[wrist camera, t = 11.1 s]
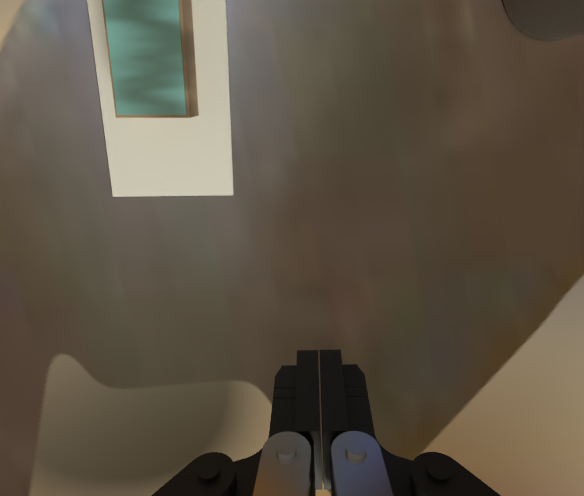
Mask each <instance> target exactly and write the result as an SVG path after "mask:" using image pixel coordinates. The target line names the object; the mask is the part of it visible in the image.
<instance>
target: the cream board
mask: <svg viewBox="0 0 584 496" xmlns="http://www.w3.org/2000/svg"><path fill="white" fill-rule="evenodd" d="M87 2H88V10H89V18H90V25H91V33H92V40H93V48H94V56H95V63H96V71H97V79H98V86H99V94H100V102H101V109H102V117H103V124H104V132H105V140H106V147H107V155H108V163H109V170H110V178H111V186H112V193H113V197H123V196H200V195H233V194H234V191H233V166H232V141H231V116H230V91H229V66H228V41H227V16H226V0H192V16H193V32H194V48H195V64H196V80H197V97H198V113H199V116H195V117H191V118H116V115H115V107H114V99H113V91H112V82H111V74H110V66H109V58H108V49H107V41H106V33H105V25H104V16H103V8H102V0H87Z"/></svg>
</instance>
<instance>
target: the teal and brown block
mask: <svg viewBox="0 0 584 496" xmlns="http://www.w3.org/2000/svg"><path fill="white" fill-rule="evenodd" d="M102 8H103V16H104V25H105V33H106V41H107V49H108V58H109V66H110V74H111V82H112V91H113V99H114V107H115V115H116V118H191V117H195V116H199V113H198V97H197V80H196V64H195V48H194V32H193V16H192V0H102Z"/></svg>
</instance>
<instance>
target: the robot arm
mask: <svg viewBox="0 0 584 496" xmlns="http://www.w3.org/2000/svg"><path fill="white" fill-rule="evenodd" d="M503 3H504V6H505V9H506V12H507V14H508V16H509V18H510V19H511V21H512V23H513V24H514V25H515V26H516V27H517V28H518V29H519V30H520V31H521V32H522V33H524V34H526V35H527V36H529V37H531V38H535V39H538V40H558V39H563V38H568V37H573V36H578V35H583V34H584V0H503ZM320 377H321V409H322V437H323V465H324V489H331V496H500V495H499V494H498V493H497V492H495V491H494V490H493V489H491V488H490V487H488V486H487V485H486V484H485V483H484V482H482V481H481V480H480V479H478V478H477V477H476V476H475V475H473V474H472V473H471V472H469V471H468V470H467V469H465V468H464V467H463V466H462V465H460V464H459V463H458V462H456V461H455V460H453V459H452V458H451V457H449V456H447V455H444V454H441V453H437V452H426V453H423V454H420V455H419V456H417V457H416V458H415V459H414V461H412V460H408V459H405V458H401V457H398V456H395V455H393V454H391V453H389V452H388V451H386V450H385V449H384V448H383V447H382V446H381V445H380V444H379V442H378V441H377V439H376V437H375V433H374V427H373V421H372V415H371V410H370V404H369V399H368V392H367V388H366V381H365V375H364V373H363V372H362V371H361V370H360V368H359V367H358V366H357V364H352V365H342V359H341V350H320ZM316 489H318V490H321V489H322V470H321V437H320V403H319V371H318V350H297V365H295V366H282V367H281V369H280V370H279V371H278V373H277V374H276V376H275V384H274V393H273V403H272V413H271V422H270V432H269V438H268V440H267V441H266V442H265V444H264V446H263V448H262V449H261V450H260V451H259V452H257V453H256V454H254V455H252V456H250V457H248V458H245V459H241V460H238V461H235V462H233V461H232V459H231V458H230V457H229V456H227V455H225V454H223V453H218V452H211V453H206V454H203V455H201V456H199V457H197V458H196V459H194V460H193V461H192V462H191V463H190V464H188V465H187V466H186V467H185V468H184V469H183V470H181V471H180V472H179V473H178V474H177V475H175V476H174V477H173V478H172V479H171V480H169V481H168V482H167V483H166V484H165V485H164V486H162V487H161V488H160V489H159V490H158V491H156V492H155V493H154V494H153V495H152V496H315V490H316Z"/></svg>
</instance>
